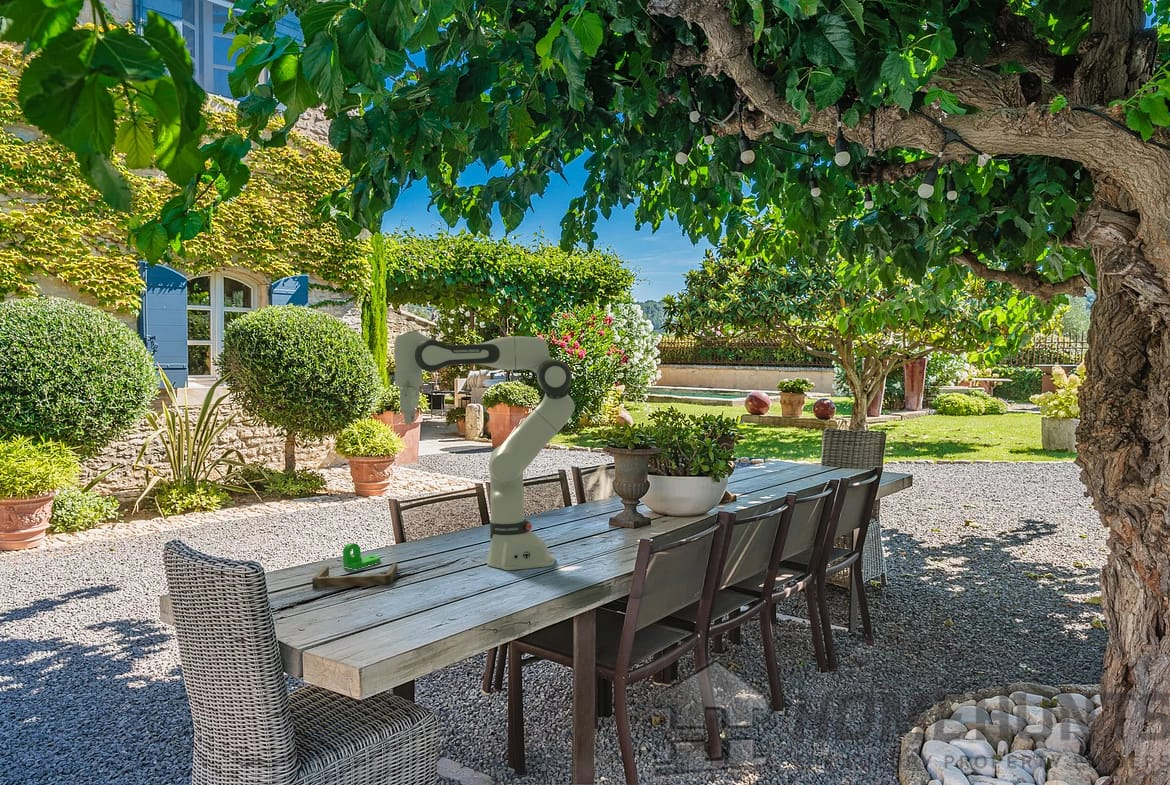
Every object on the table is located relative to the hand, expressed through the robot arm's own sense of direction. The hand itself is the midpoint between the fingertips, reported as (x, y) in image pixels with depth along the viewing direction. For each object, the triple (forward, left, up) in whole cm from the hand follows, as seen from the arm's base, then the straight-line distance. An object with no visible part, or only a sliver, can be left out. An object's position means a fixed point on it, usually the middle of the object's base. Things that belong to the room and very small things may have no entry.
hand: (409, 423), depth 248 cm
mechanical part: (+17, -5, -48) cm, 51 cm away
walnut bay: (+16, +12, -48) cm, 52 cm away
